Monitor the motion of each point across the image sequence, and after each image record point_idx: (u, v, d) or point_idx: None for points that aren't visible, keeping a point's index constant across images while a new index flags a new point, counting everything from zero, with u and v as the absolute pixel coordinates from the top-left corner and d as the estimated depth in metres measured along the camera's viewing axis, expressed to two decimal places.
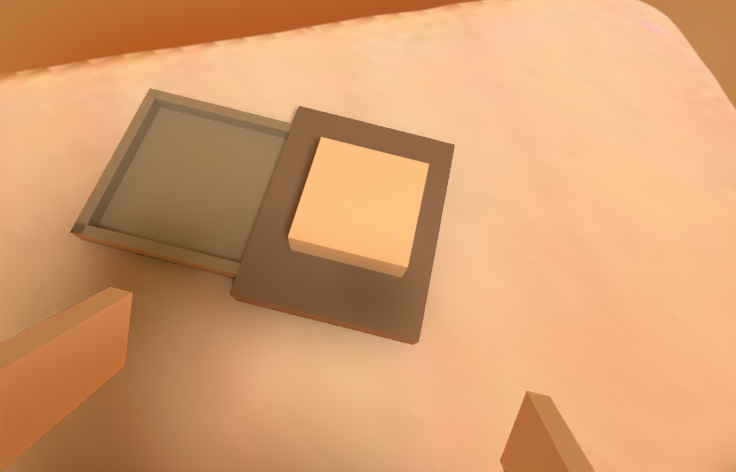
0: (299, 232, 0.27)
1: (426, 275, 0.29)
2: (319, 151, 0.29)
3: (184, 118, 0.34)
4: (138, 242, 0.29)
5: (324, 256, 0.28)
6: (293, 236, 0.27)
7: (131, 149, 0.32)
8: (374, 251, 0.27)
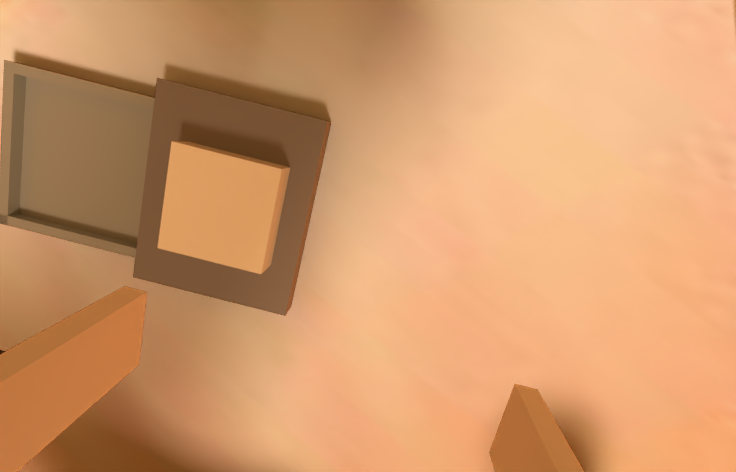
0: (166, 243, 0.30)
1: (292, 262, 0.33)
2: (172, 158, 0.29)
3: (53, 88, 0.32)
4: (52, 231, 0.34)
5: None
6: (162, 247, 0.30)
7: (15, 135, 0.33)
8: (232, 260, 0.30)
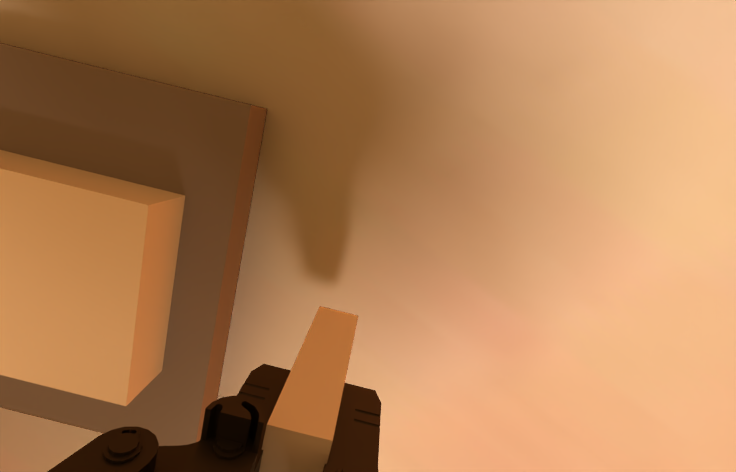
0: None
1: (200, 367, 0.18)
2: None
3: None
4: None
5: None
6: None
7: None
8: (67, 380, 0.16)
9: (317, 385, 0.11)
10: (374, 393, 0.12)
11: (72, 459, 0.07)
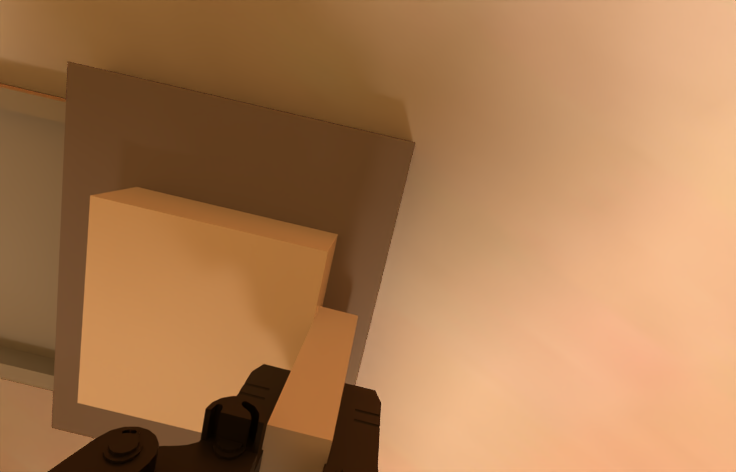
0: (94, 394, 0.15)
1: None
2: (95, 231, 0.14)
3: None
4: None
5: None
6: (86, 401, 0.15)
7: None
8: None
9: (317, 385, 0.11)
10: (374, 393, 0.12)
11: (72, 459, 0.07)
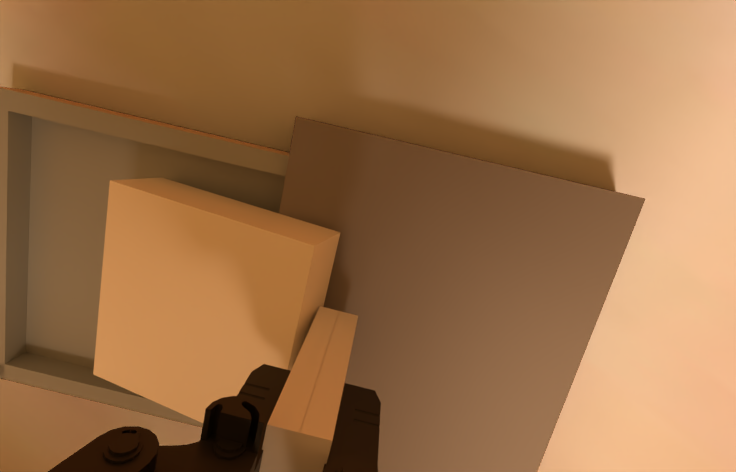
0: (106, 368, 0.16)
1: (535, 454, 0.17)
2: (112, 214, 0.15)
3: (83, 136, 0.17)
4: (86, 390, 0.19)
5: None
6: (100, 374, 0.16)
7: (15, 223, 0.18)
8: None
9: (317, 385, 0.11)
10: (374, 393, 0.12)
11: (72, 459, 0.07)
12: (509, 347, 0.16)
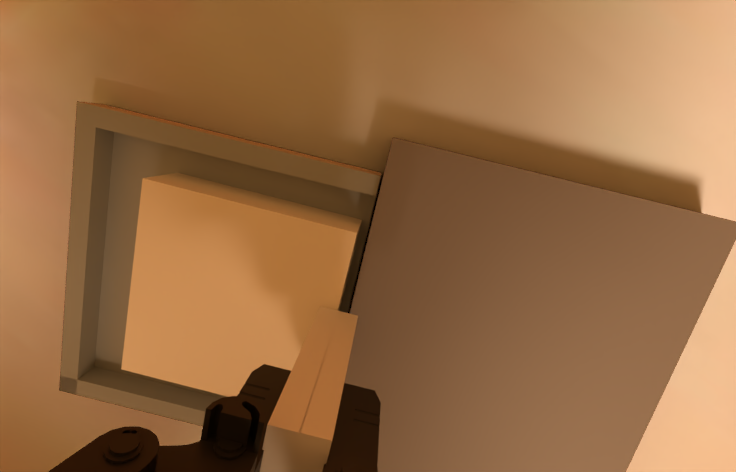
0: (137, 362, 0.17)
1: None
2: (145, 211, 0.15)
3: (165, 152, 0.17)
4: (159, 406, 0.19)
5: None
6: (129, 367, 0.17)
7: (94, 239, 0.17)
8: None
9: (316, 385, 0.11)
10: (374, 393, 0.12)
11: (73, 459, 0.07)
12: (595, 368, 0.16)
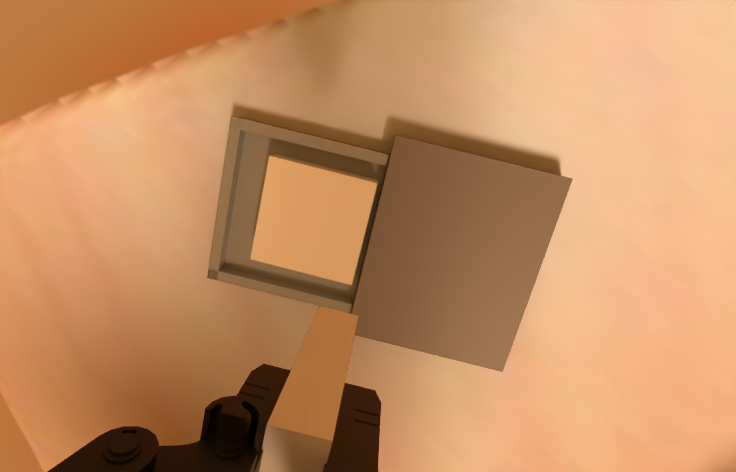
0: (259, 254, 0.31)
1: (516, 319, 0.32)
2: (269, 172, 0.30)
3: (272, 143, 0.32)
4: (264, 286, 0.33)
5: None
6: (254, 258, 0.31)
7: (232, 190, 0.32)
8: (323, 271, 0.31)
9: (317, 385, 0.11)
10: (374, 393, 0.12)
11: (72, 459, 0.07)
12: (503, 257, 0.31)
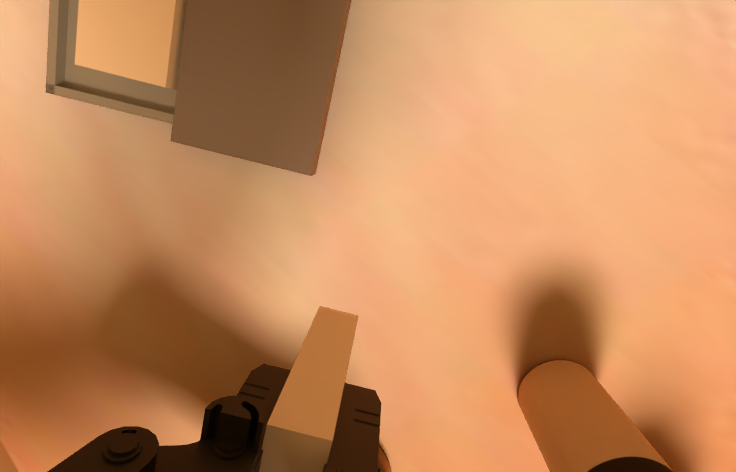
0: (82, 59, 0.35)
1: (318, 122, 0.36)
2: None
3: None
4: (96, 99, 0.37)
5: None
6: (78, 63, 0.35)
7: (62, 6, 0.35)
8: (139, 74, 0.35)
9: (317, 385, 0.11)
10: (374, 393, 0.12)
11: (72, 459, 0.07)
12: (299, 61, 0.34)
